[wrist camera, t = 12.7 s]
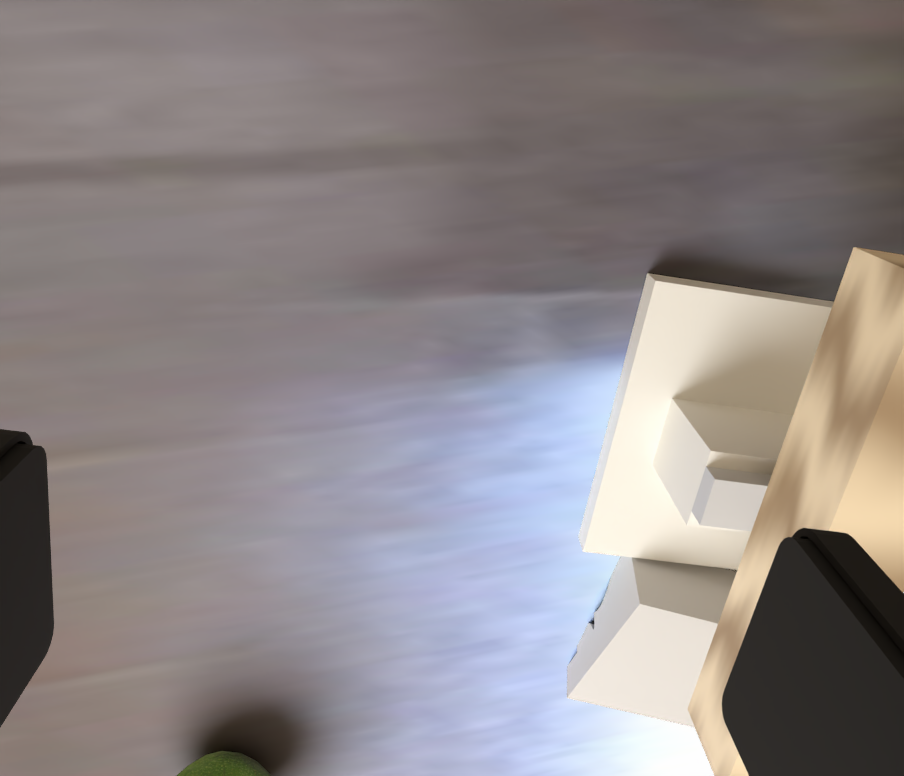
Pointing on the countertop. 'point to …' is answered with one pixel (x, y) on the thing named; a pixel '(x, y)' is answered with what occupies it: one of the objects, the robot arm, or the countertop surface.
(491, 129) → the countertop surface
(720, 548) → the balance stand
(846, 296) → the beech batten
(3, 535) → the robot arm
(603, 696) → the white flat block
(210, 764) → the fruit
